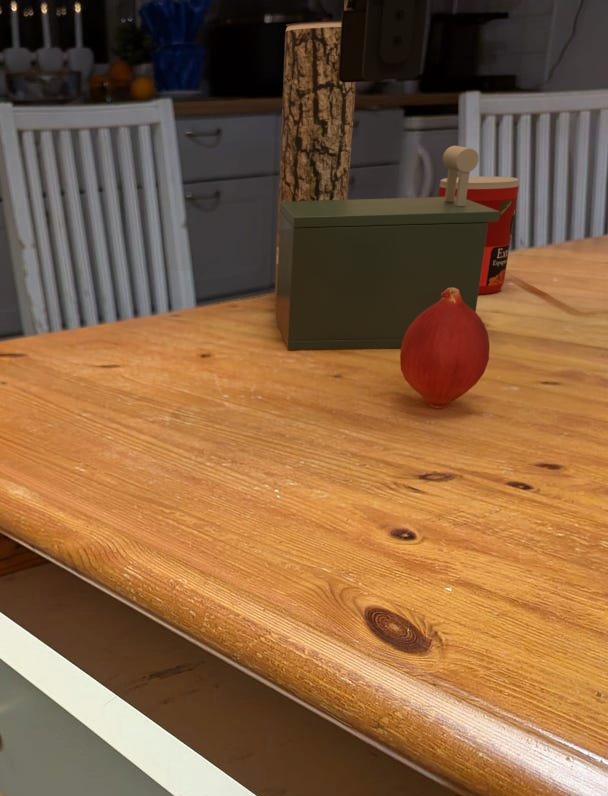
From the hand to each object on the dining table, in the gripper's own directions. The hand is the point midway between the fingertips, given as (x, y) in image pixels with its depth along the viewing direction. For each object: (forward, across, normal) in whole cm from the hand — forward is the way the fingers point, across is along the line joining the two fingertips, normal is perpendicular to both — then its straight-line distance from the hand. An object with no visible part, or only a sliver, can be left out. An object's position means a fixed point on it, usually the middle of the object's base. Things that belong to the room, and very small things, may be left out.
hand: (375, 80), depth 59 cm
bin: (+20, +23, -5) cm, 31 cm away
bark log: (+20, +37, -1) cm, 42 cm away
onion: (+20, -2, -6) cm, 21 cm away
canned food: (+20, +44, -19) cm, 52 cm away
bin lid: (+10, +23, -5) cm, 25 cm away
